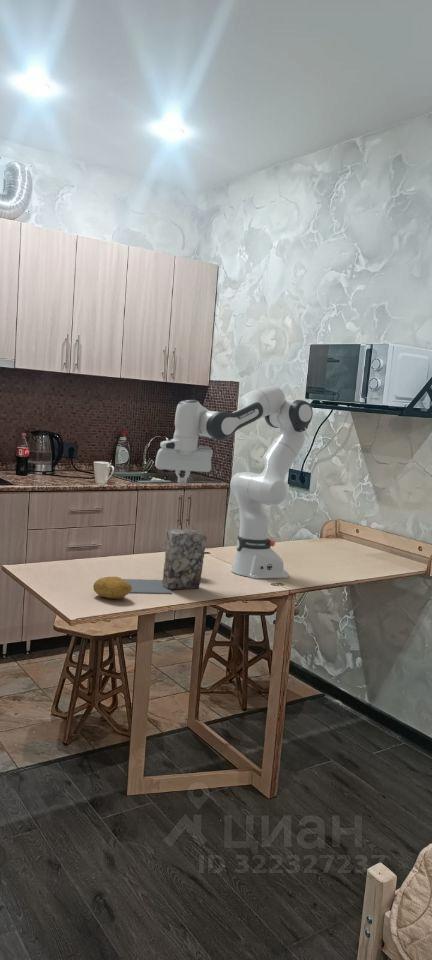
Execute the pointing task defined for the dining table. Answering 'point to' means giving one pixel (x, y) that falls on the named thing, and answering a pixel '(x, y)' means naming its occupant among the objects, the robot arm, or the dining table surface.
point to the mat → (148, 586)
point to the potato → (112, 587)
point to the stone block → (183, 559)
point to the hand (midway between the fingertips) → (181, 482)
